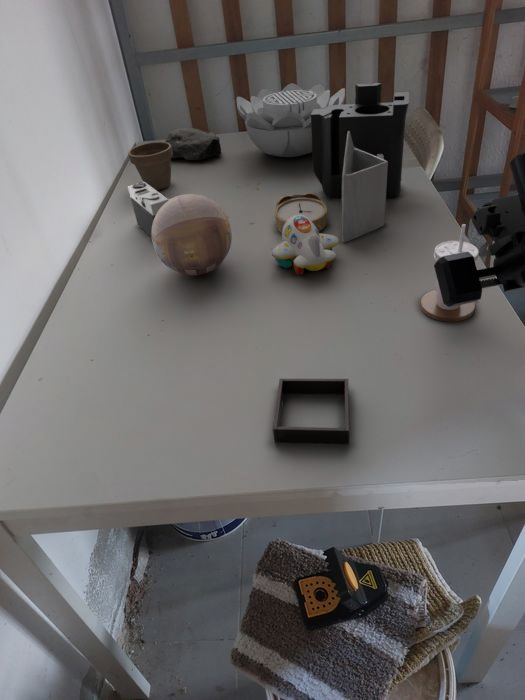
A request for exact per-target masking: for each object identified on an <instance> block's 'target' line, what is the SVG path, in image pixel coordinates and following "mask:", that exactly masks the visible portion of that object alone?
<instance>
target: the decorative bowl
mask: <svg viewBox="0 0 525 700" xmlns="http://www.w3.org/2000/svg"><path fill="white" fill-rule="evenodd" d="M345 101H346V88H345V87H342V88H341V89H340V90H338V91H337V92H336V93H334V94H333V95H332V96H331V91H330V89H327V90H325V88H324V86H323V85H322V84H316V85H314V86H312V87H311V88H310V89H309V90H304V89H302V88H301V87H300V86H299V85H298V84H295V83H289V84H287V85H286V86H285V87H284V88H283V89H282V90H281V91H278V92H273V91H271V90H270V89H266V88H262V89H261V90H260V91H259V93H258V94H257V96H255V95H251V96H250V101H249V100H248V99H246V98H244V97H242V96H236V107H237V108H236V109H237V113H238V114H239V116H240V117H241V118H242V119H243V120H244V124H245V129H246V132H247V135H248V137H249V139H250V140H251V141H252V143H253V144H254V145H255V146H256V148H257V149H259V150H260V151H262V153H264V154H267V155H269V156H273V157H274V156H275V157H281V158H295V157H301V156H305V155H307V154H308V155H309V154H311V153H312V131H311V113H312V112H313V110H314V109H323V108H325V107H328V106H332V105H344V104H345Z"/></svg>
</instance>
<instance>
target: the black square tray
mask: <svg viewBox="0 0 525 700" xmlns="http://www.w3.org/2000/svg"><path fill="white" fill-rule="evenodd" d="M285 395H344V427H320V426H319V427H316V426H315V427H313V426H312V427H311V426H281V423H282V414H283V406H284V398H285ZM349 396H350V393H349V378H279V381H278V388H277V395H276V402H275V403H276V404H275V412H274V418H273V425H272V433H273V441H274V443H276V444H277V443H281V444H284V443H285V444H322V445H323V444H324V445H350V397H349Z"/></svg>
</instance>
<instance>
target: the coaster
mask: <svg viewBox="0 0 525 700" xmlns="http://www.w3.org/2000/svg"><path fill="white" fill-rule="evenodd" d="M475 308H476V301H474V302H472V303H467V304H462V305H460V307H458V308H457V309H453V310H446V309H443V308H440V307H439V306H438V305H437V299H436V289H432V290H430V291H428V292H426V293H424V295H422V297H421V299H420V309H421V311H422V312H423V313H424V314H425V315H426V316H428V317H429V318H430V319H433V320H437V321H440V322H447V323H454V322H455V323H456V322H461V321H464V320H467V319H469V318H471V316H473V314H474V313H475V310H476V309H475Z"/></svg>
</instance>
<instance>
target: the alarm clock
mask: <svg viewBox="0 0 525 700" xmlns="http://www.w3.org/2000/svg"><path fill="white" fill-rule="evenodd" d="M327 212H328V206H327V205H326V204H325V203H324V202H323V201H322V198H321V197H320V196H319V195H318V194H317V193H315V192H307V193H305V194H303V193H297V194H292V195H282V196H281V197H279V198H278V200H277V201H276V204H275V209H274V216H275V217H274V219H275V227H276V230H278V231H279V232H280V233H282V230H283V226H284V224H285V223H286V221H287V220H288V219H289V218H290V217H292V216H294V215H304V216H306V217H307V218H309V219H310V220H311V221H312V222H313V223H314V225H315V226H316V228H317V229H318V232H319V233H320V232H321V231H322V230H323V229H325V227H327V224H328V216H327V215H328V214H327Z"/></svg>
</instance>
